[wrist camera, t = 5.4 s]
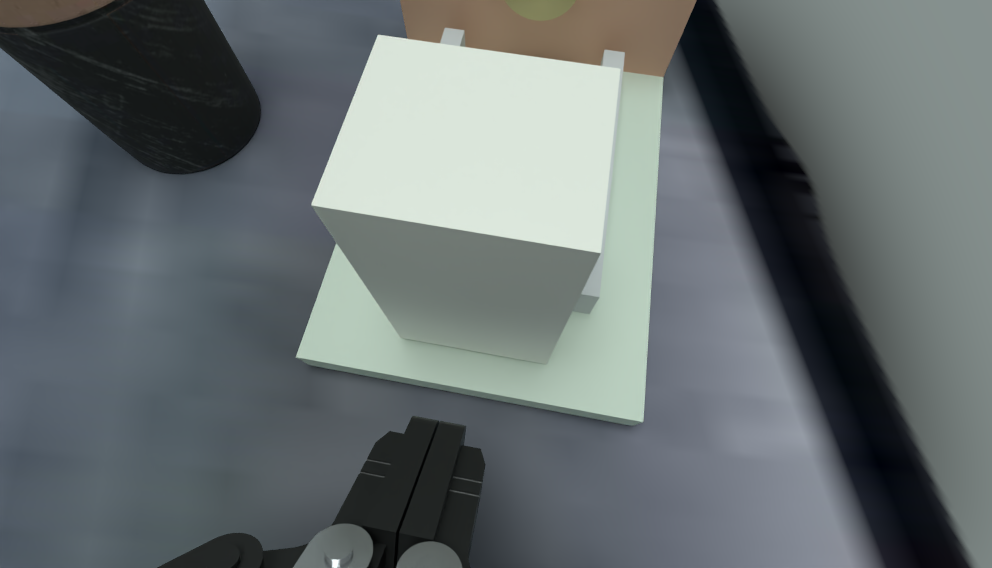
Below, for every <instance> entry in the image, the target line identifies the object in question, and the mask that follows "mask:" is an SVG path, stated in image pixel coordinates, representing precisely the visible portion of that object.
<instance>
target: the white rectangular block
mask: <svg viewBox="0 0 992 568" xmlns="http://www.w3.org/2000/svg"><path fill="white" fill-rule="evenodd" d="M619 79H620V69H619V68H612V67H605V66H598V65H591V64H583V63H576V62H569V61H562V60H555V59H548V58H540V57H533V56H526V55H519V54H512V53H505V52H497V51H490V50H483V49H476V48H469V47H462V46H454V45H447V44H440V43H433V42H426V41H419V40H411V39H404V38H397V37H390V36H383V35H378V36H377V39H376V41H375V44H374V47H373V49H372V52H371V54H370V57H369V59H368V62H367V64H366V67H365V69H364V72H363V74H362V77H361V80H360V82H359V85H358V87H357V90H356V92H355V95H354V97H353V100H352V102H351V105H350V108H349V110H348V113H347V115H346V118H345V120H344V123H343V125H342V128H341V130H340V133H339V136H338V138H337V141H336V143H335V146H334V148H333V151H332V153H331V156H330V158H329V161H328V164H327V166H326V169H325V171H324V174H323V176H322V179H321V181H320V184H319V186H318V189H317V192H316V194H315V197H314V199H313V202H312V204H311V206H312V207H313V209H314V210H315V212H316V213H317V215H318V216H319V218H320V219H321V221H322V222H323V224H324V225H325V227H326V228H327V230H328V231H329V233H330V234H331V236H332V237H333V238H334V240H335V241H336V243H337V244H338V246H339V247H340V249H341V250H342V252H343V253H344V255H345V256H346V258H347V259H348V261H349V262H350V264H351V265H352V267H353V268H354V270H355V271H356V273H357V274H358V276H359V277H360V278H361V280H362V281H363V283H364V284H365V286H366V287H367V289H368V290H369V292H370V293H371V295H372V296H373V298H374V299H375V301H376V302H377V304H378V305H379V307H380V308H381V310H382V311H383V313H384V314H385V316H386V317H387V318H388V320H389V321H390V323H391V324H392V326H393V327H394V329H395V330H396V332H397V333H398V335H399V336H400V338H404V339H410V340H415V341H421V342H426V343H432V344H437V345H443V346H448V347H454V348H459V349H465V350H470V351H476V352H481V353H487V354H492V355H498V356H503V357H509V358H514V359H520V360H525V361H531V362H536V363H542V364H547V362H548V360H549V358H550V356H551V354H552V352H553V350H554V348H555V346H556V344H557V342H558V340H559V338H560V336H561V334H562V332H563V330H564V327H565V325H566V323H567V321H568V319H569V317H570V315H571V313H572V311H573V309H574V307H575V305H576V303H577V301H578V299H579V297H580V295H581V293H582V291H583V289H584V287H585V285H586V283H587V280H588V278H589V276H590V274H591V272H592V270H593V268H594V266H595V264H596V262H597V260H598V258H599V256H600V254H601V247H602V238H603V229H604V219H605V210H606V200H607V191H608V182H609V172H610V163H611V154H612V144H613V135H614V126H615V116H616V107H617V97H618V88H619Z"/></svg>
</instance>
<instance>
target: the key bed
mask: <svg viewBox="0 0 992 568" xmlns="http://www.w3.org/2000/svg"><path fill="white" fill-rule="evenodd" d="M400 2H401V7H402V12H403V17H404V23H405V28H406V33H407V38H408V39H411V40H419V41H426V42H433V43H440V44H447V45H454V46H462V47H469V48H476V49H483V50H490V51H497V52H505V53H512V54H519V55H526V56H533V57H540V58H548V59H555V60H562V61H569V62H576V63H583V64H591V65H598V66H605V67H612V68H619V69H620V79H619V88H618V97H617V107H616V116H615V126H614V135H613V144H612V154H611V163H610V172H609V182H608V191H607V200H606V210H605V219H604V229H603V238H602V247H601V254H600V256H599V258H598V260H597V262H596V264H595V266H594V268H593V270H592V272H591V274H590V276H589V278H588V280H587V283H586V285H585V287H584V289H583V291H582V293H581V295H580V297H579V299H578V301H577V303H576V305H575V307H574V309H573V311H572V313H571V315H570V317H569V319H568V321H567V323H566V325H565V327H564V330H563V332H562V334H561V336H560V338H559V340H558V342H557V344H556V346H555V348H554V350H553V352H552V354H551V356H550V358H549V360H548V362H547V364H542V363H536V362H531V361H525V360H520V359H514V358H509V357H503V356H498V355H492V354H487V353H481V352H476V351H470V350H465V349H459V348H454V347H448V346H443V345H437V344H432V343H426V342H421V341H415V340H410V339H404V338H400V336H399V335H398V333H397V332H396V330H395V329H394V327H393V326H392V324H391V323H390V321H389V320H388V318H387V317H386V316H385V314H384V313H383V311H382V310H381V308H380V307H379V305H378V304H377V302H376V301H375V299H374V298H373V296H372V295H371V293H370V292H369V290H368V289H367V287H366V286H365V284H364V283H363V281H362V280H361V278H360V277H359V276H358V274H357V273H356V271H355V270H354V268H353V267H352V265H351V264H350V262H349V261H348V259H347V258H346V256H345V255H344V253H343V252H342V250H341V249H340V247H339V246H338V244H337V243H336V246H335V249H334V251H333V254H332V257H331V260H330V263H329V266H328V268H327V271H326V274H325V277H324V280H323V282H322V285H321V288H320V291H319V294H318V296H317V299H316V302H315V305H314V308H313V311H312V313H311V316H310V319H309V322H308V325H307V327H306V330H305V333H304V336H303V339H302V342H301V344H300V347H299V350H298V353H297V356H296V357H297V358H298V359H300V360H302V361H303V362H305V363H307V364H308V365H311V366H316V367H322V368H327V369H332V370H338V371H343V372H348V373H354V374H359V375H364V376H370V377H375V378H380V379H386V380H391V381H396V382H401V383H407V384H412V385H417V386H423V387H428V388H433V389H439V390H444V391H449V392H455V393H460V394H465V395H471V396H476V397H481V398H487V399H492V400H497V401H503V402H508V403H513V404H518V405H524V406H529V407H534V408H540V409H545V410H550V411H556V412H561V413H566V414H572V415H577V416H582V417H588V418H593V419H598V420H604V421H609V422H614V423H619V424H625V425H630V426H634V425H636V424H639V423H642V422H643V418H644V401H645V384H646V366H647V349H648V332H649V315H650V298H651V281H652V264H653V247H654V229H655V212H656V195H657V178H658V161H659V144H660V127H661V109H662V92H663V77H664V75H665V72H666V70H667V68H668V65H669V63H670V61H671V58H672V56H673V54H674V51H675V49H676V47H677V44H678V42H679V40H680V37H681V35H682V33H683V30H684V28H685V26H686V23H687V21H688V19H689V16H690V14H691V12H692V9H693V7H694V5H695V2H696V0H400Z"/></svg>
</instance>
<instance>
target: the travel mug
mask: <svg viewBox="0 0 992 568" xmlns="http://www.w3.org/2000/svg"><path fill="white" fill-rule="evenodd" d="M0 48H1V49H3V50H4V51H5V52H6V53H7V54H9V55H10V56H11V57H12V58H13V59H15V60H16V61H17V62H18V63H19V64H21V65H22V66H23V67H24V68H26V69H27V70H28V71H29V72H30V73H32V74H33V75H34V76H35V77H36V78H38V79H39V80H40V81H41V82H43V83H44V84H45V85H46V86H47V87H49V88H50V89H51V90H52V91H53V92H55V93H56V94H57V95H58V96H60V97H61V98H62V99H63V100H64V101H66V102H67V103H68V104H69V105H70V106H72V107H73V108H74V109H75V110H76V111H78V112H79V113H80V114H81V115H83V116H84V117H85V118H86V119H87V120H89V121H90V122H91V123H92V124H93V125H95V126H96V127H97V128H98V129H100V130H101V131H102V132H103V133H104V134H106V135H107V136H108V137H109V138H110V139H112V140H113V141H114V142H115V143H117V144H118V145H119V146H120V147H122V148H123V149H124V150H125V151H127V152H128V153H129V154H130V155H132V156H133V157H134V158H136V159H137V160H138V161H140V162H141V163H142V164H144V165H146V166H148V167H150V168H152V169H155V170H158V171H162V172H166V173H191V172H196V171H201V170H204V169H208V168H211V167H213V166H215V165H218V164H220V163H222V162H224V161H225V160H227V159H229V158H230V157H232V156H233V155H235V154H236V153H237V152H238V151H239V150H241V149H242V148H243V147H244V146H245V145H246V143H247V142H248V141H249V140H250V138H251V137H252V136H253V134H254V132H255V130H256V128H257V126H258V123H259V119H260V103H259V99H258V96H257V94H256V92H255V90H254V88H253V86H252V84H251V82H250V81H249V79H248V77H247V75H246V73H245V72H244V70H243V68H242V66H241V64H240V63H239V61H238V59H237V57H236V56H235V54H234V52H233V50H232V49H231V47H230V45H229V43H228V42H227V40H226V38H225V36H224V35H223V33H222V31H221V29H220V28H219V26H218V24H217V22H216V21H215V19H214V17H213V15H212V14H211V12H210V10H209V8H208V7H207V5H206V3H205V1H204V0H0Z"/></svg>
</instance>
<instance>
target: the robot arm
mask: <svg viewBox="0 0 992 568" xmlns="http://www.w3.org/2000/svg"><path fill="white" fill-rule="evenodd" d="M465 432H466V426H464V425H459V424H453V423H448V422H443V421H440V423H439V421H437V420H432V419H427V418H422V417H417V416H413V417H412V418H411V420H410V422H409V424H408V426H407V429H406V431H405V433H404V434H402V433H396V432H391V431H389V432H388V433H387V434H386V435H385V436H383V437H382V438H381V439H380V440H378V441H377V442H376V443H375V445H374V447H373V449H372V450H371V452H370V454H369V456H368V458H367V461H366V462H365V464H364V466H363V468H362V469H361V473H360V474H359V475H358V477H357V479H356V481H355V483H354V485H353V486H352V488H351V490H350V492H349V494H348V496H347V498H346V500H345V502H344V504H343V505H342V507H341V509H340V511H339V513H338V515H337V517H336V519H335V521H334V522H333V524H332V525H331V526H330V527H328V528H326V529H324V530H322V531H321V532H319V533H318V534H317V535H316V536H315V537H314V538H313V539H312V540H311V541H310V543H308V544H306V545H303V546H299V547H295V548H288V549H278V550H269V551H263V548H262V546H261V544H260V542H259V541H258V540H257V539H256V538H255V537H253V536H251V535H248V534H244V533H232V534H226V535H223V536H220V537H217V538H215V539H213V540H211V541H209V542H207V543H205V544H203V545H201V546H199V547H197V548H195V549H193V550H191V551H189V552H187V553H185V554H183V555H181V556H179V557H177V558H175V559H173V560H171V561H169V562H167V563H165V564H163V565H161V566H160V567H158V568H470V565H469V560H468V558H469V552H470V547H471V542H472V537H473V532H474V527H475V521H476V516H477V511H478V506H479V500H480V494H481V488H482V482H483V476H484V469H485V462H484V459H483V455H482V452H481V449H478V448H473V447H468V446H464V440H465Z"/></svg>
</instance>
